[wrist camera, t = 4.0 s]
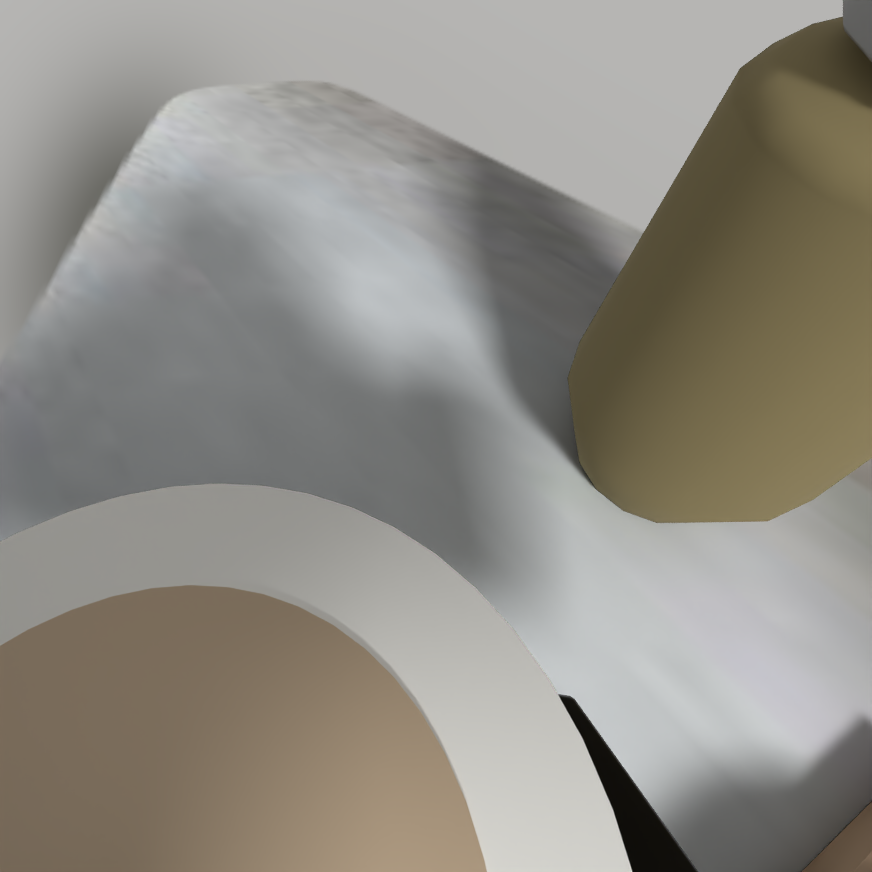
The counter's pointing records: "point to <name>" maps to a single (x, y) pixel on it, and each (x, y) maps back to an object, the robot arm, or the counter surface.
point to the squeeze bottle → (746, 302)
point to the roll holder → (848, 848)
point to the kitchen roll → (274, 700)
